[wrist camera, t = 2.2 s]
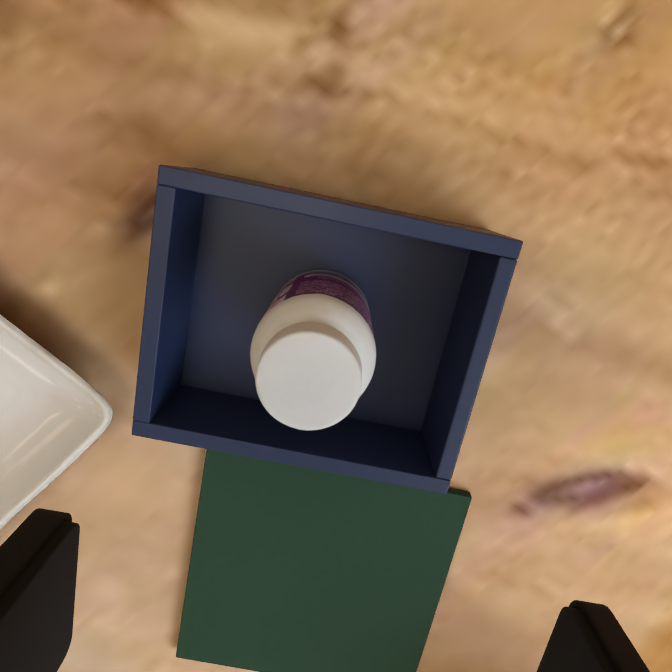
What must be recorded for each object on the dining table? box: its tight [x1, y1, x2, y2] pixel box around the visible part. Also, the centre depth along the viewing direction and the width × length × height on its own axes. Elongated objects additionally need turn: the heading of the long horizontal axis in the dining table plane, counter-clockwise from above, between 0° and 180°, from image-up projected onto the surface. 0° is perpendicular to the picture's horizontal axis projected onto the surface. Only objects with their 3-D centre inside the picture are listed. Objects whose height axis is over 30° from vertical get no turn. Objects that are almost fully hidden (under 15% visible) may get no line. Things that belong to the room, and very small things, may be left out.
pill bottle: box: [250, 270, 376, 430], centre depth 24 cm, size 5×5×10 cm
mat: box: [176, 449, 472, 672], centre depth 33 cm, size 16×16×1 cm
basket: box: [132, 165, 523, 494], centre depth 26 cm, size 13×16×5 cm
